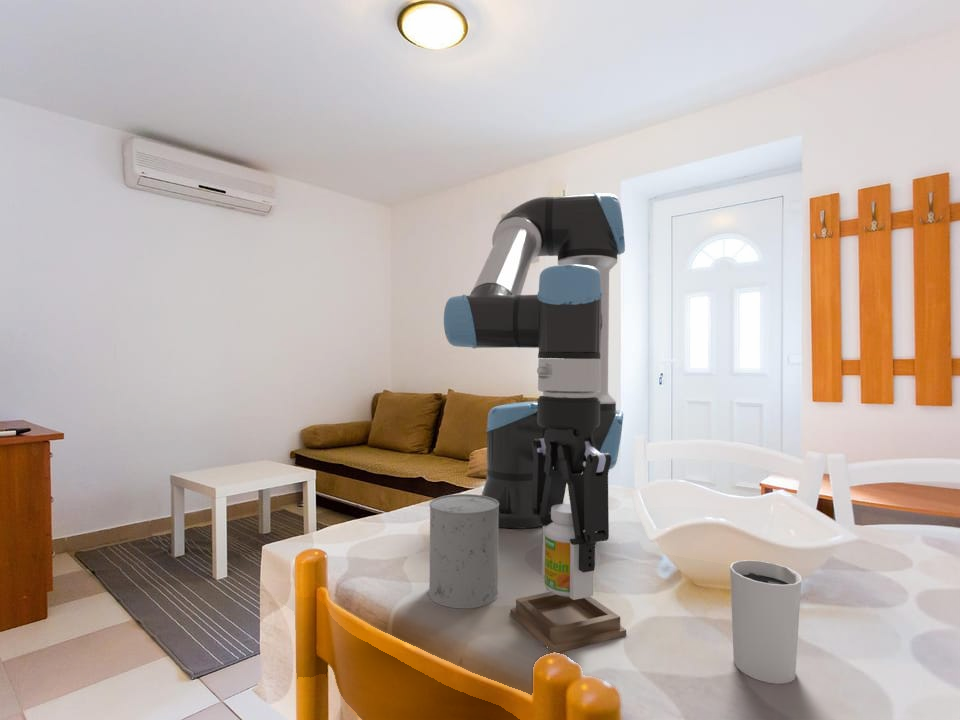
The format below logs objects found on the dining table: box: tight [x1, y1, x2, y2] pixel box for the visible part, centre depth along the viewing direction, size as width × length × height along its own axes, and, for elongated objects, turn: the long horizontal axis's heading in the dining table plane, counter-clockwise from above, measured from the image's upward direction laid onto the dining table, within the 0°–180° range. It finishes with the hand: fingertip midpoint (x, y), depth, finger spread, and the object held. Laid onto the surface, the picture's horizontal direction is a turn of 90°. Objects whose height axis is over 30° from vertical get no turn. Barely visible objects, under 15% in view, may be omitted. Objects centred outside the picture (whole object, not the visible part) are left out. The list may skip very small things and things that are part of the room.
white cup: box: [729, 559, 803, 685], centre depth 56 cm, size 7×7×10 cm
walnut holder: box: [509, 591, 627, 654], centre depth 65 cm, size 10×10×2 cm
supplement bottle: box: [544, 503, 575, 597], centre depth 65 cm, size 5×5×10 cm
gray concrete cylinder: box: [428, 493, 499, 610], centre depth 73 cm, size 10×10×12 cm
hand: (566, 586), depth 65 cm, fingers closed on supplement bottle, 5 cm apart
